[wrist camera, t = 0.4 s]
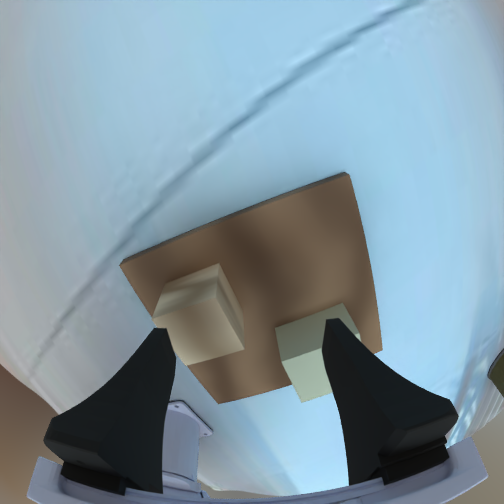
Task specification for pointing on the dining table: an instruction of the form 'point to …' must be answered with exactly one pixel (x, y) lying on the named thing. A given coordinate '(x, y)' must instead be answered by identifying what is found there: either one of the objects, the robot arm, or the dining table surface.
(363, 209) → the dining table surface
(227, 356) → the walnut board
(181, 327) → the birch block
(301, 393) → the sage base block
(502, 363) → the canister
